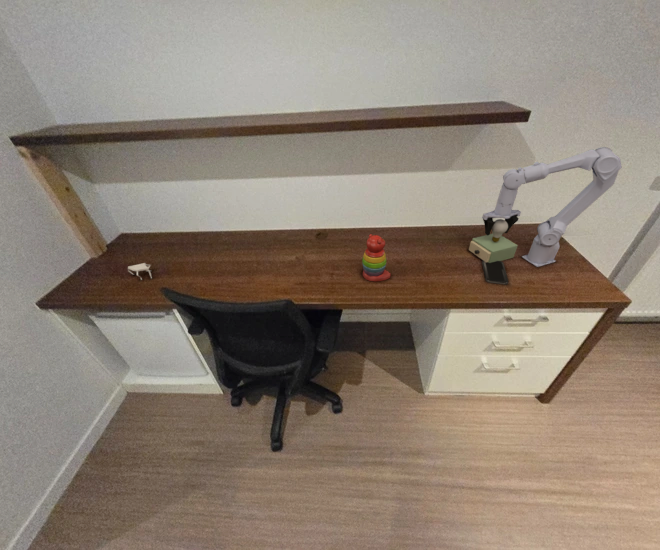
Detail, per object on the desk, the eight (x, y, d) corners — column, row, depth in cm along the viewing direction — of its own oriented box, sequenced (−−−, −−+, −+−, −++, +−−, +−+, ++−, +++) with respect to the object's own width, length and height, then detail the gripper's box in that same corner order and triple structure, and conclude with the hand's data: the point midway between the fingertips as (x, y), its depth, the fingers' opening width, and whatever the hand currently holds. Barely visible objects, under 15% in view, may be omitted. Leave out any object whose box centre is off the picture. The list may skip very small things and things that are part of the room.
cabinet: (488, 264, 123) (492, 252, 120) (469, 250, 132) (472, 238, 129) (513, 257, 126) (517, 245, 122) (492, 244, 135) (496, 232, 131)
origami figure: (159, 268, 135) (155, 259, 132) (152, 280, 128) (147, 270, 125) (133, 271, 135) (127, 262, 132) (124, 282, 128) (118, 273, 125)
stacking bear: (392, 277, 120) (396, 238, 109) (371, 285, 116) (373, 246, 106) (377, 264, 128) (378, 226, 117) (356, 271, 124) (356, 234, 114)
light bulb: (501, 246, 122) (509, 224, 116) (486, 243, 125) (492, 221, 119) (503, 240, 126) (510, 218, 120) (488, 237, 129) (494, 215, 123)
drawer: (483, 263, 123) (486, 254, 120) (466, 250, 131) (468, 241, 128) (508, 256, 125) (511, 247, 123) (490, 244, 133) (492, 235, 131)
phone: (486, 280, 114) (482, 259, 125) (485, 283, 114) (481, 261, 126) (509, 283, 112) (503, 261, 123) (508, 286, 112) (502, 263, 124)
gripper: (493, 208, 112) (484, 239, 120) (530, 204, 113) (518, 236, 121) (483, 200, 118) (475, 231, 126) (518, 197, 118) (508, 227, 127)
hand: (495, 233), depth 124 cm, fingers open, 7 cm apart
